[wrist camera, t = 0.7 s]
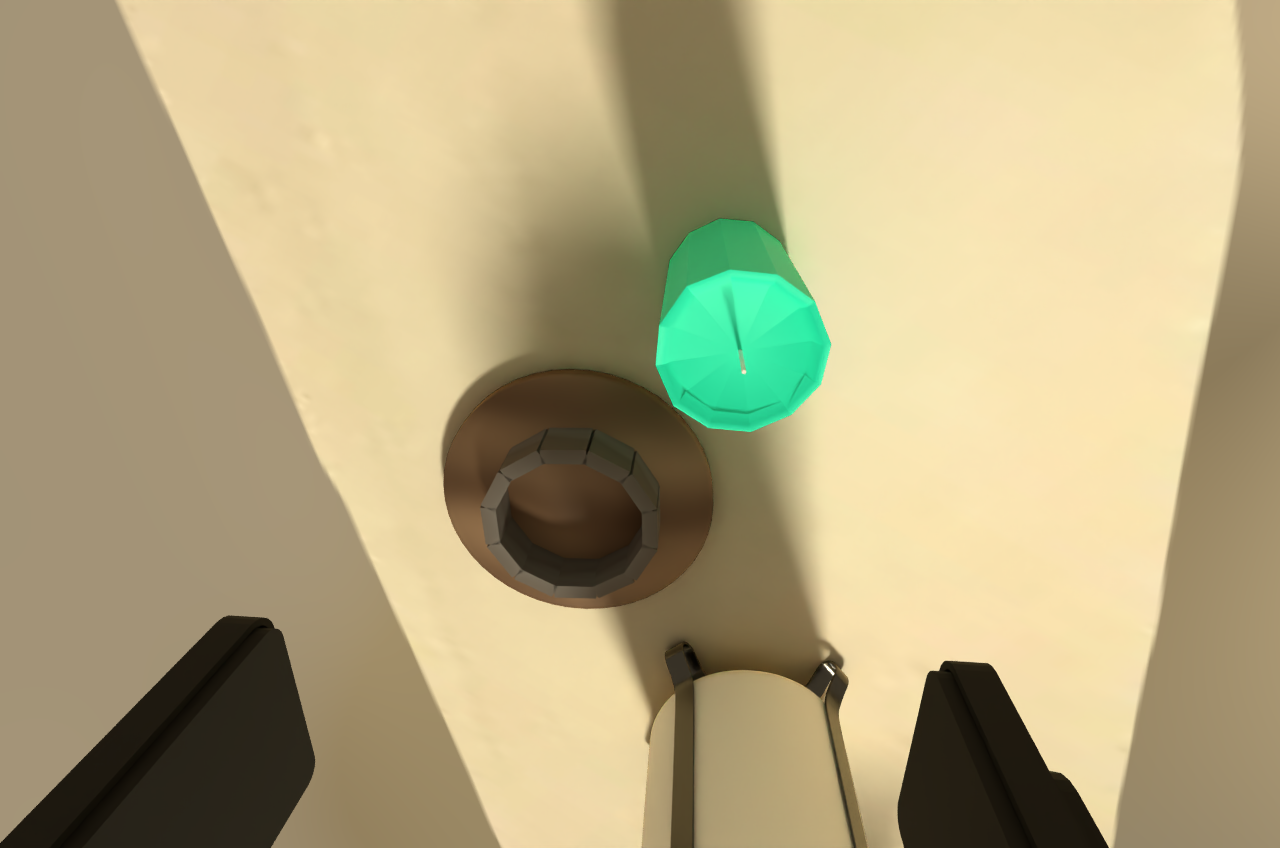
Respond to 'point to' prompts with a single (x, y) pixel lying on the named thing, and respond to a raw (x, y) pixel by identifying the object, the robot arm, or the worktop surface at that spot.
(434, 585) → the worktop surface
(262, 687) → the robot arm
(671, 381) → the candle
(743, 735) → the coffee press
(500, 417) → the candle holder
